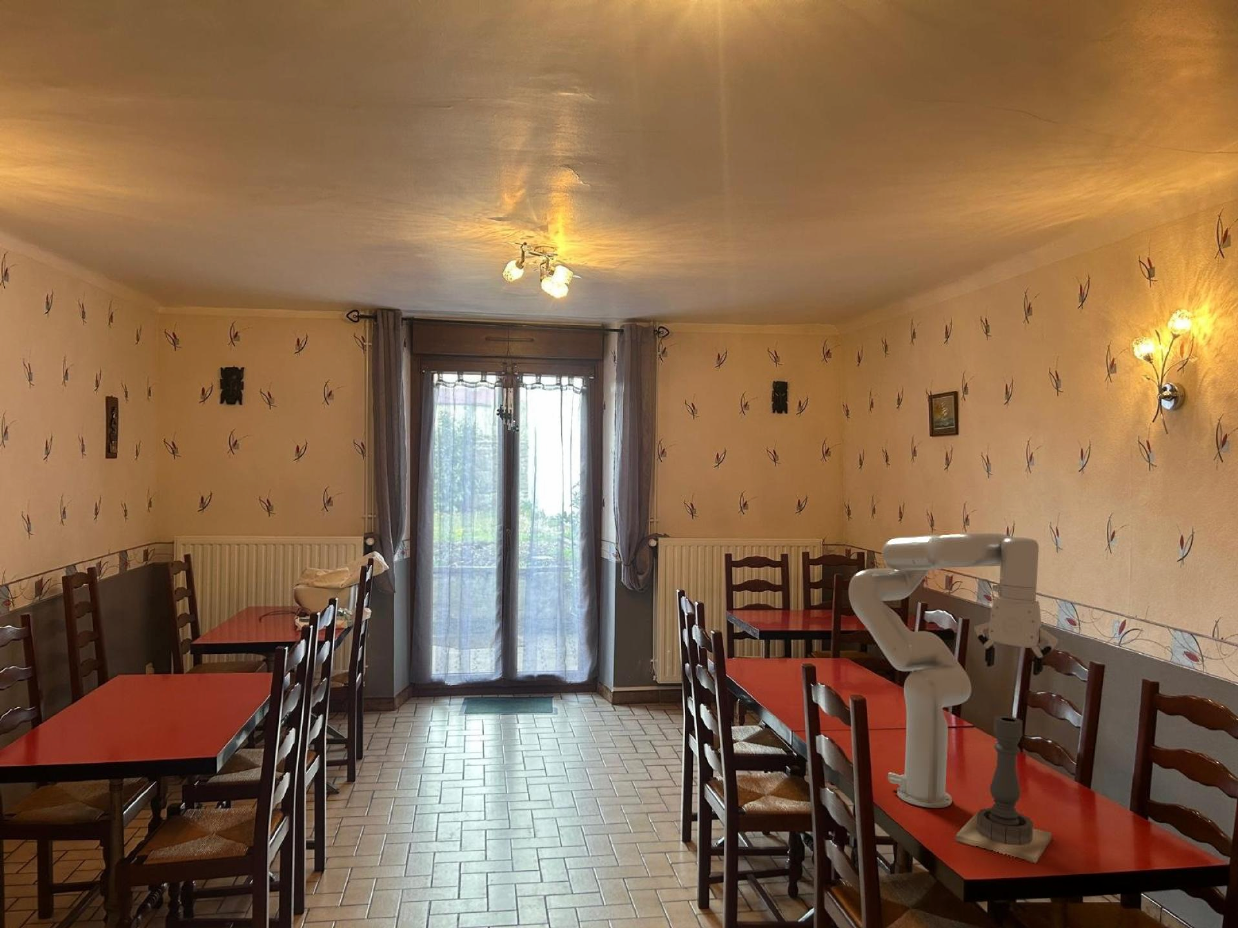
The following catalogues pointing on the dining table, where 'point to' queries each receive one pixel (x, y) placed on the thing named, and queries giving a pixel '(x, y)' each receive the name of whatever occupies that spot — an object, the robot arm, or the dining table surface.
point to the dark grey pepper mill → (1006, 771)
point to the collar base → (1005, 836)
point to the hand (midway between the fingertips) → (1013, 669)
